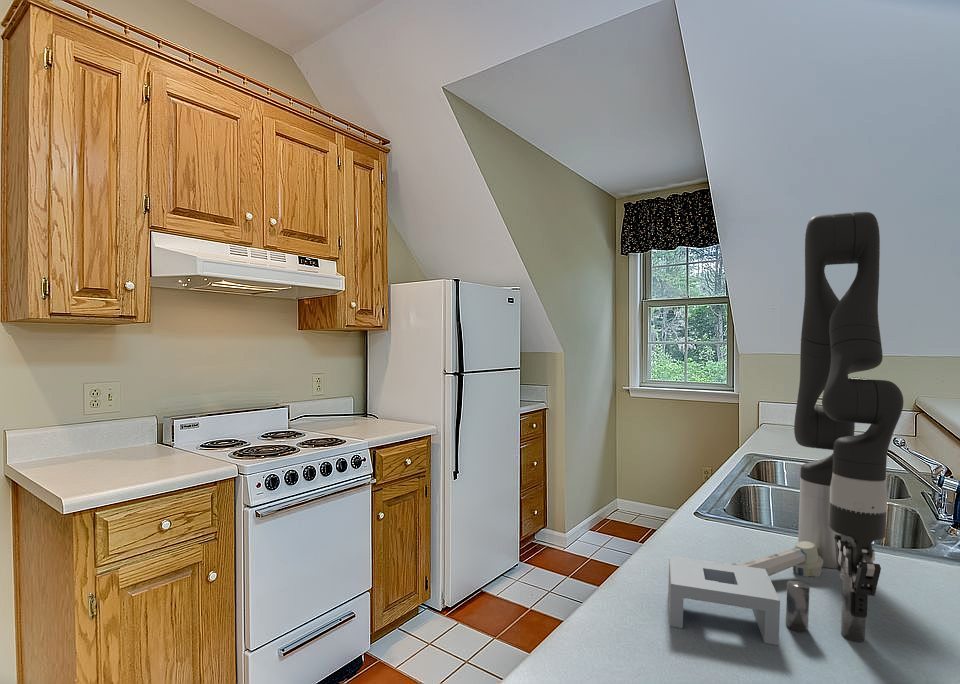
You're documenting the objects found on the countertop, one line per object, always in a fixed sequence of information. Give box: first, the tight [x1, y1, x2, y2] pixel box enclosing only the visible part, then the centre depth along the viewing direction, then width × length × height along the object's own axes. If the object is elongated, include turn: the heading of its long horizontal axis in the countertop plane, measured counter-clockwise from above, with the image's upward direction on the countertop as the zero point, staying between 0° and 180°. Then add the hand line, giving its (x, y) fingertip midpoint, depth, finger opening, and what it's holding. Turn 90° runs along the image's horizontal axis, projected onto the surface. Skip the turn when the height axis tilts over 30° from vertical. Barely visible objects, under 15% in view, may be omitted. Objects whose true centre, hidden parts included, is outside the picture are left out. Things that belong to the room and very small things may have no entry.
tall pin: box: [840, 559, 867, 643], centre depth 88 cm, size 3×3×12 cm
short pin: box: [785, 580, 811, 634], centre depth 90 cm, size 3×3×7 cm
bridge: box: [667, 555, 781, 646], centre depth 93 cm, size 12×16×7 cm
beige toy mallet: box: [721, 541, 823, 584], centre depth 108 cm, size 5×7×25 cm
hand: (853, 609), depth 88 cm, fingers closed on tall pin, 3 cm apart
